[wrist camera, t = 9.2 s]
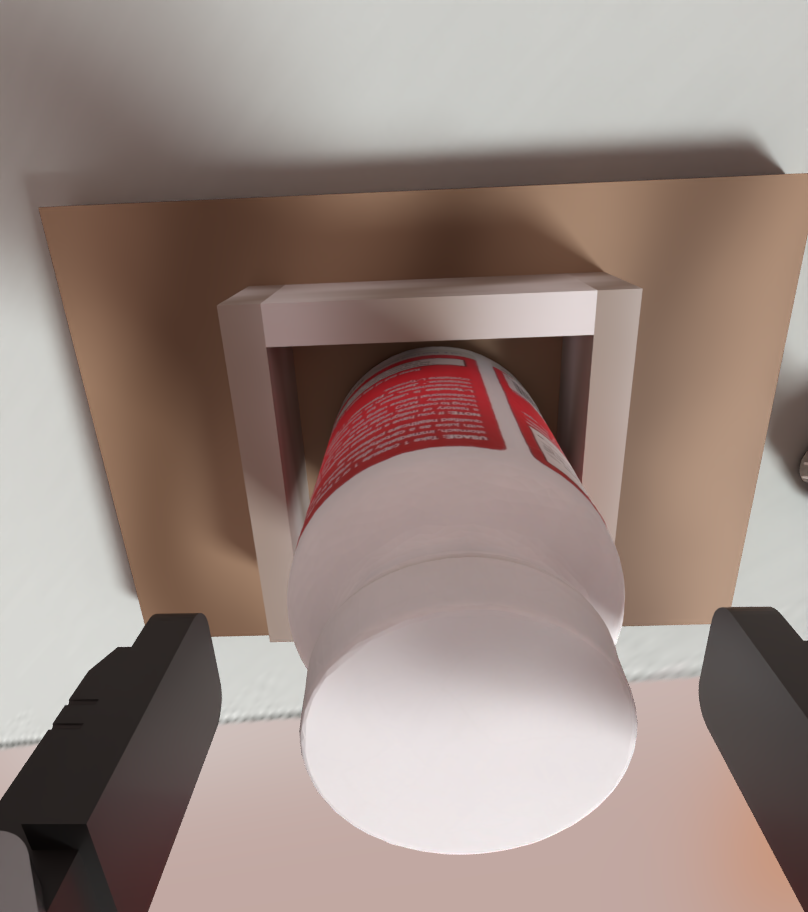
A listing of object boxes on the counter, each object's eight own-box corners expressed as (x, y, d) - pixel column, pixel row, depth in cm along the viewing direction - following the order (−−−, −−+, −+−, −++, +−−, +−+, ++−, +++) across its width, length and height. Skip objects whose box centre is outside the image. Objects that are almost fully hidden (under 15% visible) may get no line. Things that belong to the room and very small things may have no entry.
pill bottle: (304, 489, 19) (187, 823, 9) (381, 305, 17) (335, 481, 7) (483, 558, 20) (557, 931, 10) (578, 393, 18) (795, 660, 8)
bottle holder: (787, 174, 17) (907, 169, 13) (708, 596, 23) (774, 688, 18) (67, 205, 18) (-39, 211, 13) (164, 611, 23) (110, 703, 19)
